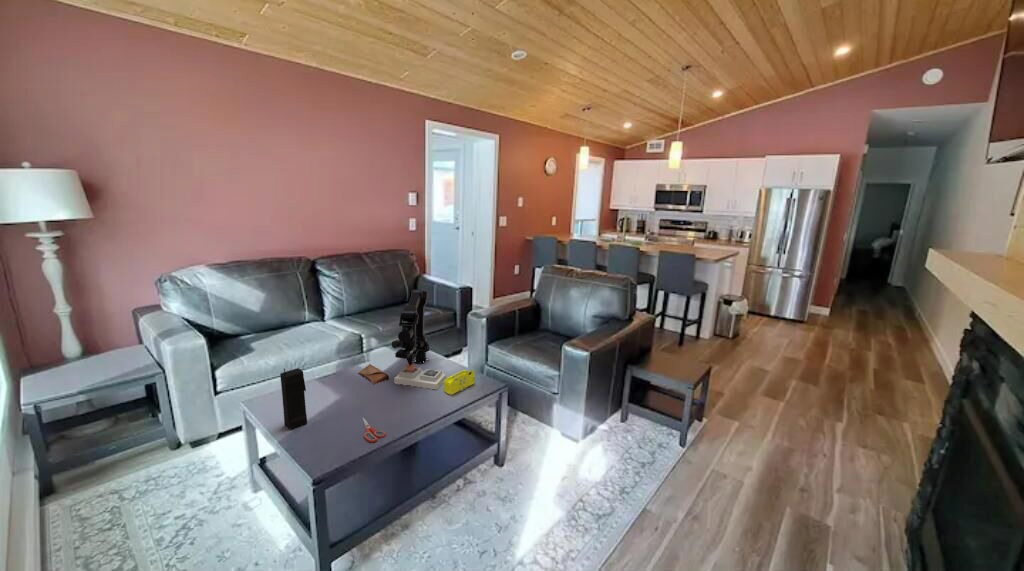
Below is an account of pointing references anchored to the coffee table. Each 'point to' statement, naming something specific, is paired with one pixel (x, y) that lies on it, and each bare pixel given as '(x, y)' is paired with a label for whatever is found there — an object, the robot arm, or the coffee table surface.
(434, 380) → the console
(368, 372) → the sunglasses case
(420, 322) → the robot arm
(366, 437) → the scissors
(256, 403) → the coffee table surface
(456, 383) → the yellow toy chassis
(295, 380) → the portable radio
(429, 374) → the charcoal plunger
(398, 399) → the coffee table surface
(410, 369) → the pink rounded ball
